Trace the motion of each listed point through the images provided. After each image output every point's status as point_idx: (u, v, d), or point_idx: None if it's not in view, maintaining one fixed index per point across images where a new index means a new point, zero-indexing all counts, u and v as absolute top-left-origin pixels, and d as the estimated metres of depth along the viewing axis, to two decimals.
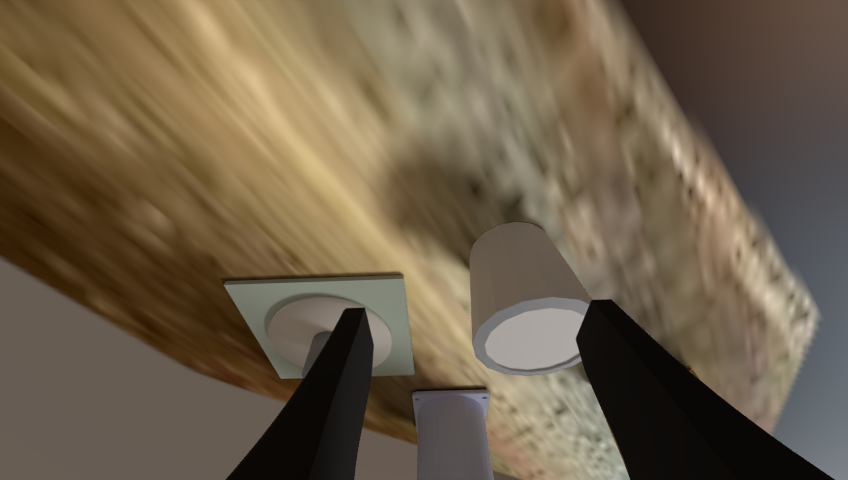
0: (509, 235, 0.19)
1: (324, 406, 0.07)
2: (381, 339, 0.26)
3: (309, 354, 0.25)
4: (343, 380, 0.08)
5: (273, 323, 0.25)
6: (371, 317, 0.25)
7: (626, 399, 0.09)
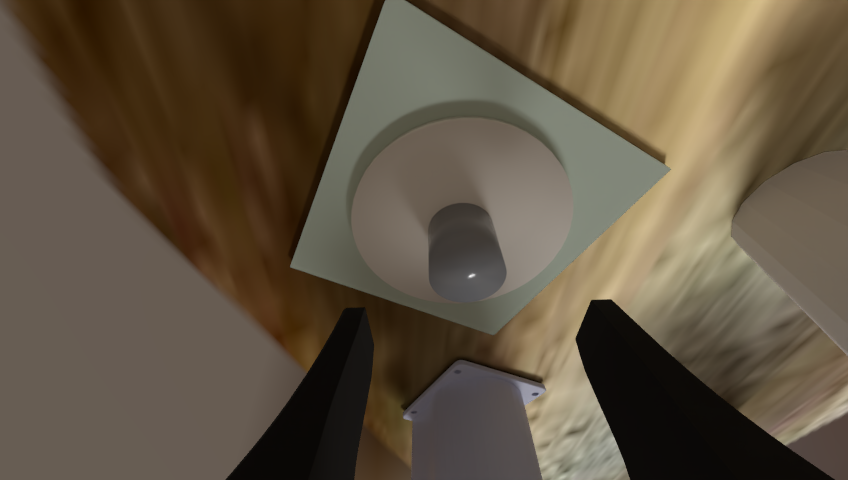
0: None
1: (324, 406, 0.07)
2: (536, 259, 0.16)
3: (456, 227, 0.13)
4: (343, 380, 0.08)
5: (408, 142, 0.12)
6: (569, 213, 0.14)
7: (626, 399, 0.09)
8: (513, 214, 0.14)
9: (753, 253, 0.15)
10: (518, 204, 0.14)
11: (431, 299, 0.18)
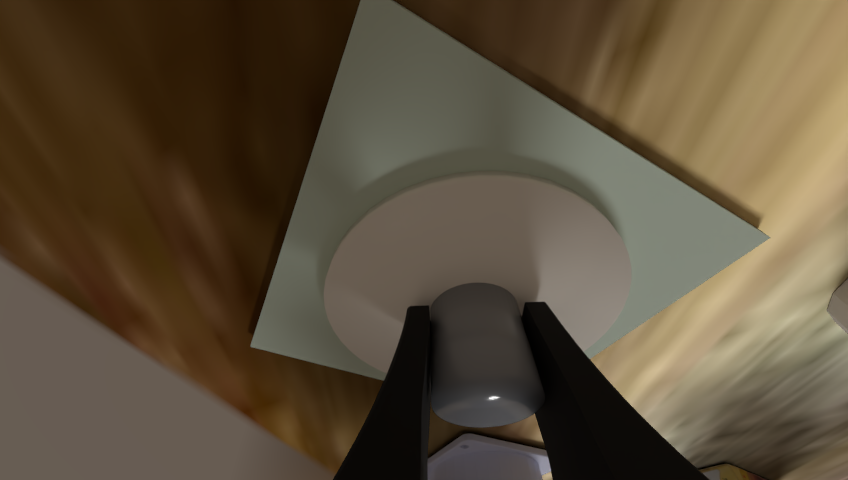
0: None
1: (415, 404, 0.07)
2: None
3: (471, 332, 0.09)
4: (425, 378, 0.08)
5: (400, 210, 0.08)
6: (623, 293, 0.10)
7: (548, 401, 0.09)
8: (546, 295, 0.10)
9: None
10: (555, 283, 0.10)
11: None
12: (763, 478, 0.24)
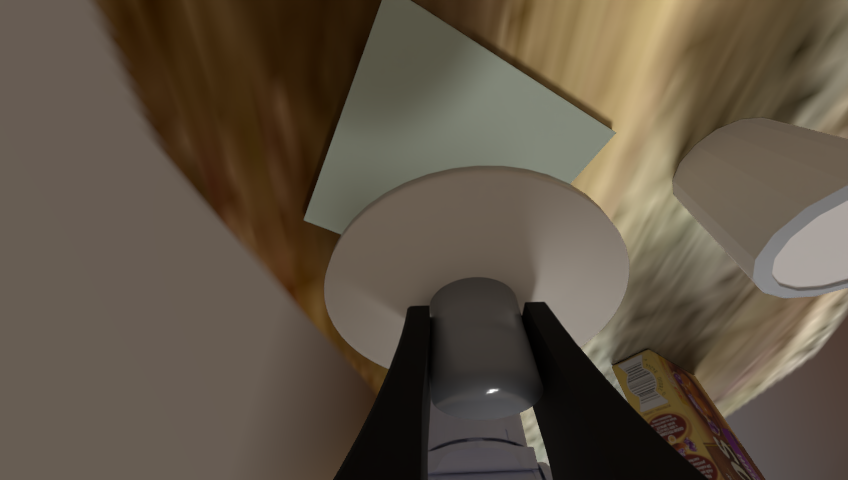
0: None
1: (415, 404, 0.07)
2: None
3: (470, 325, 0.09)
4: (425, 378, 0.08)
5: (400, 205, 0.08)
6: (621, 287, 0.10)
7: (548, 401, 0.09)
8: (545, 289, 0.10)
9: (687, 205, 0.18)
10: (553, 278, 0.10)
11: None
12: (680, 368, 0.31)
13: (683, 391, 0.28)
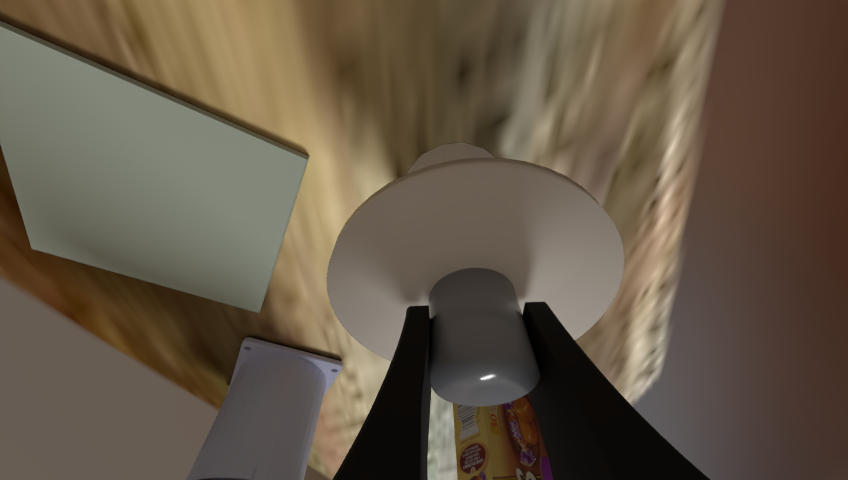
0: (476, 154, 0.15)
1: (414, 404, 0.07)
2: (567, 329, 0.12)
3: (470, 313, 0.09)
4: (424, 378, 0.08)
5: (403, 195, 0.09)
6: (616, 279, 0.11)
7: (549, 401, 0.09)
8: (542, 281, 0.11)
9: None
10: (550, 269, 0.10)
11: None
12: None
13: (504, 418, 0.26)
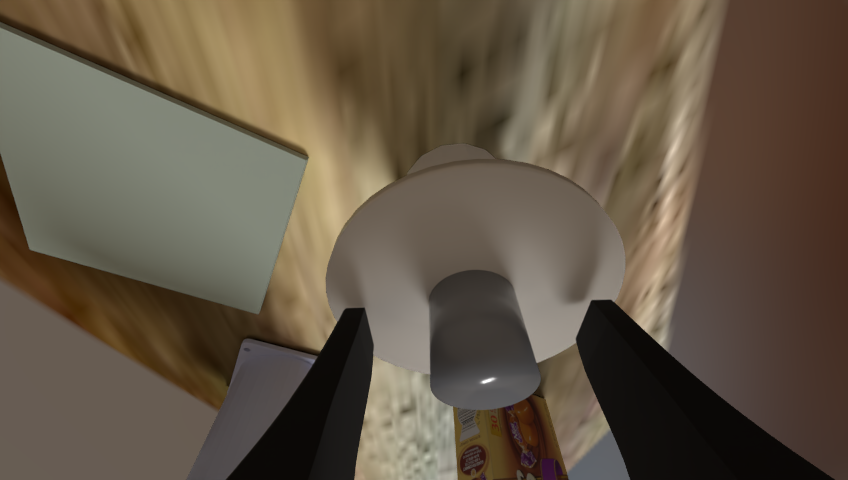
0: (476, 155, 0.14)
1: (324, 406, 0.07)
2: (568, 331, 0.12)
3: (470, 315, 0.09)
4: (343, 380, 0.08)
5: (402, 196, 0.09)
6: (617, 281, 0.11)
7: (626, 399, 0.09)
8: (543, 283, 0.11)
9: None
10: (551, 272, 0.10)
11: None
12: None
13: (505, 419, 0.26)
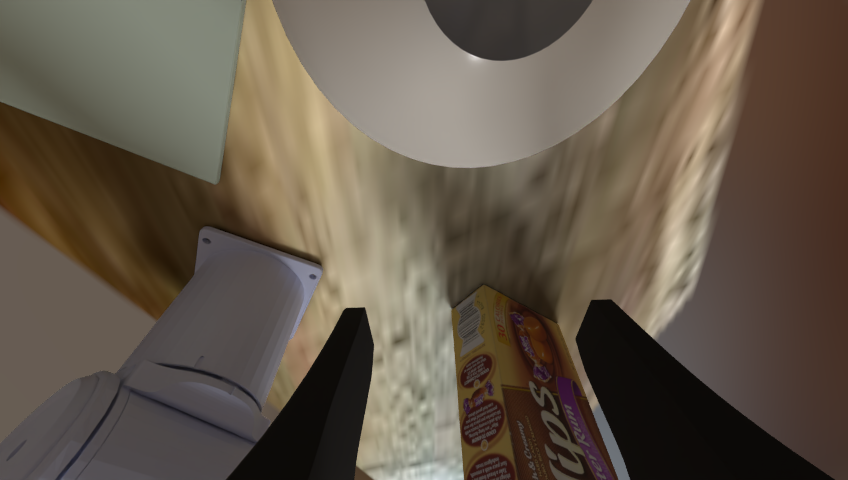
0: None
1: (324, 406, 0.07)
2: (625, 53, 0.08)
3: None
4: (343, 380, 0.08)
5: None
6: None
7: (626, 399, 0.09)
8: None
9: None
10: None
11: (423, 157, 0.10)
12: (535, 312, 0.26)
13: (513, 331, 0.22)
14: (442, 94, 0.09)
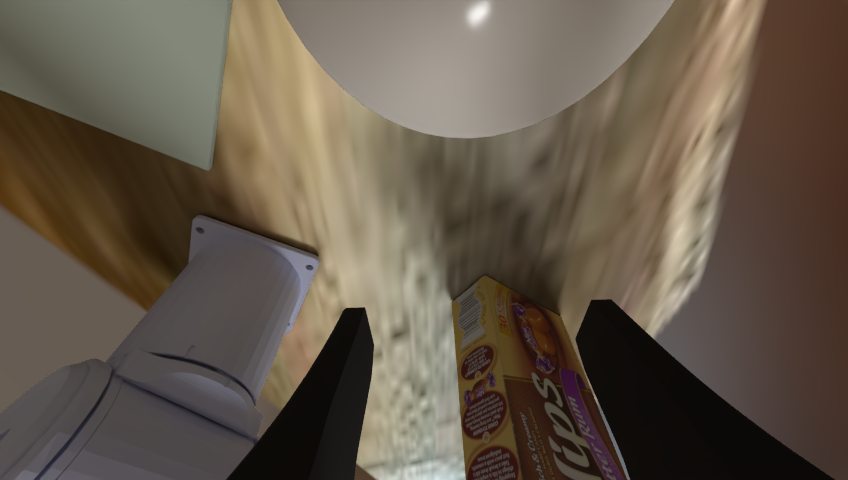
0: None
1: (324, 406, 0.07)
2: (634, 8, 0.08)
3: None
4: (343, 380, 0.08)
5: None
6: None
7: (626, 399, 0.09)
8: None
9: None
10: None
11: (418, 125, 0.09)
12: (537, 304, 0.26)
13: (515, 322, 0.22)
14: (438, 55, 0.08)
